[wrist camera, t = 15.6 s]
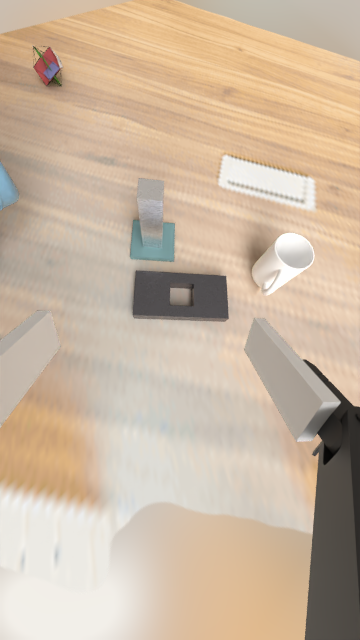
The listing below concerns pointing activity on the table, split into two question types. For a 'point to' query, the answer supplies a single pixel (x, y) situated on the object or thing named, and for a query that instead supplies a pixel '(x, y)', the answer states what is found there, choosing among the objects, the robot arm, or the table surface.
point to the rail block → (156, 287)
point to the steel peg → (151, 211)
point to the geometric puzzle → (48, 66)
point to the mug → (282, 262)
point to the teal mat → (150, 252)
